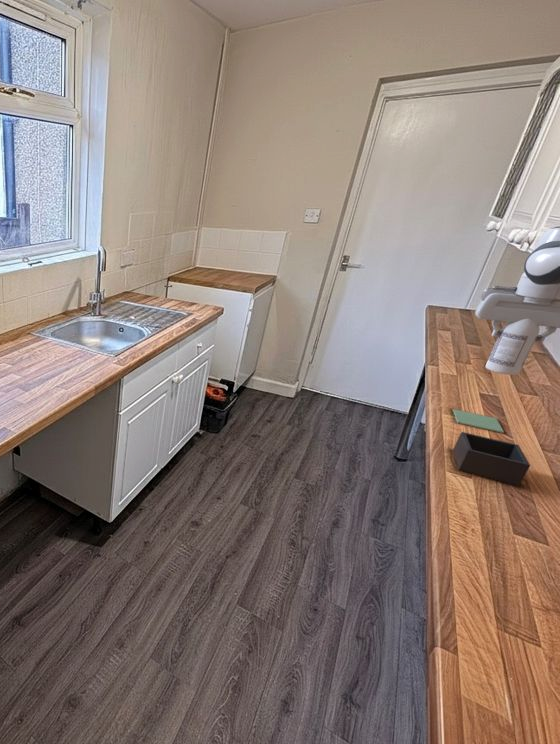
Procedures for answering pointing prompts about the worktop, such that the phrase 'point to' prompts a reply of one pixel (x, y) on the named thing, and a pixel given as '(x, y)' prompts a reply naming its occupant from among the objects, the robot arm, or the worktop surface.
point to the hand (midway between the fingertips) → (516, 338)
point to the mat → (477, 420)
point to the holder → (490, 458)
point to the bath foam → (513, 347)
